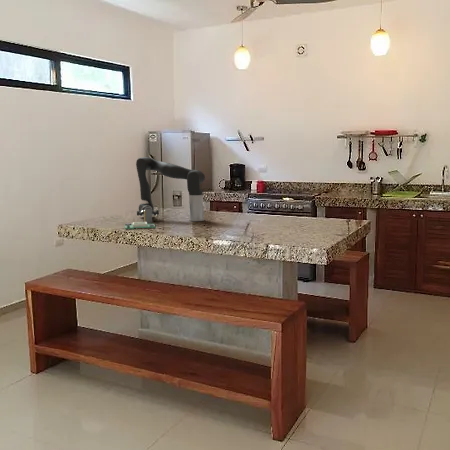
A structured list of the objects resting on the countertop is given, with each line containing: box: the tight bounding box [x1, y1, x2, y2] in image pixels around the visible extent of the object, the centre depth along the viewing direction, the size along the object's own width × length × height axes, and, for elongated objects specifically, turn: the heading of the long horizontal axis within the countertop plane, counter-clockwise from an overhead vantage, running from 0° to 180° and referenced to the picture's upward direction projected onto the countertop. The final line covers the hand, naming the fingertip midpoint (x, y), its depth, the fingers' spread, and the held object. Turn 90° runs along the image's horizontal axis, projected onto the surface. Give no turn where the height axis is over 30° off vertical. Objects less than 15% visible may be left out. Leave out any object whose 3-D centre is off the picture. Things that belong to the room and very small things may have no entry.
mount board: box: [124, 221, 156, 230], centre depth 314 cm, size 18×14×3 cm
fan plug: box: [143, 207, 153, 223], centre depth 326 cm, size 5×4×11 cm
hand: (148, 214), depth 329 cm, fingers open, 8 cm apart
